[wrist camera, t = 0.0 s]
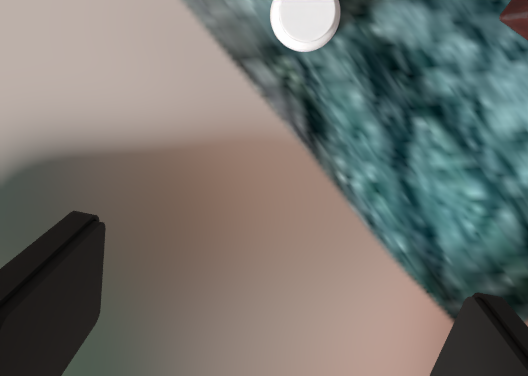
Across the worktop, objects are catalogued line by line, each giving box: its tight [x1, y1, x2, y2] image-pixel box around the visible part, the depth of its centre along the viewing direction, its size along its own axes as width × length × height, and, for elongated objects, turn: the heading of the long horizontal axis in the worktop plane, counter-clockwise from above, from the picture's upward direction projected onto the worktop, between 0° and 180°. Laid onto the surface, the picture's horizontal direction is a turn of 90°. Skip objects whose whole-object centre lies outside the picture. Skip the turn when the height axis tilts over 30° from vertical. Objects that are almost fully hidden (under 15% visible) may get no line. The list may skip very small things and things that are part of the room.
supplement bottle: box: [270, 0, 340, 52], centre depth 32 cm, size 5×5×10 cm
